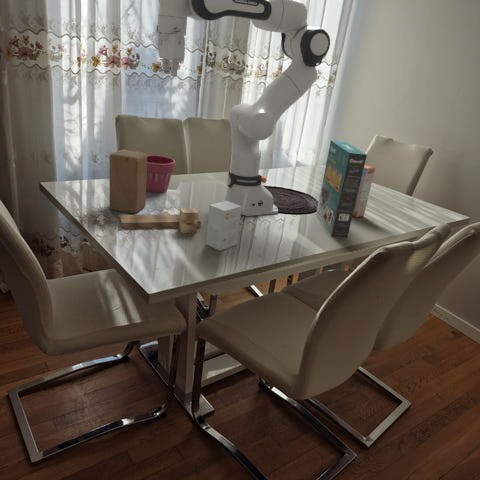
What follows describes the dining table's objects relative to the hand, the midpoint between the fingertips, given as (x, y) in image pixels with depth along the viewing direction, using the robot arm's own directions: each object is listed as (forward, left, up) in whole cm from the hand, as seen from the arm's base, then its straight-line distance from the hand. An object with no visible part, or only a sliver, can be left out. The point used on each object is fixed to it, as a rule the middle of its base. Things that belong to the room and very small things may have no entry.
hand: (169, 75), depth 139 cm
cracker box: (-77, +4, -47) cm, 91 cm away
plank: (+4, +15, -46) cm, 49 cm away
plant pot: (-1, -24, -47) cm, 52 cm away
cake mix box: (-60, +19, -47) cm, 79 cm away
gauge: (-4, +18, -46) cm, 50 cm away
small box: (-12, +33, -47) cm, 58 cm away
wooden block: (+13, -1, -47) cm, 48 cm away
